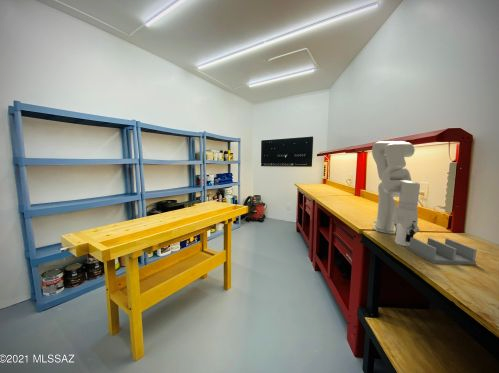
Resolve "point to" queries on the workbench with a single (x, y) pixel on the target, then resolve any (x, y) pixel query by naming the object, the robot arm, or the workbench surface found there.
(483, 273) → the workbench surface
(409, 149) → the robot arm
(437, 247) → the rack
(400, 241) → the can
